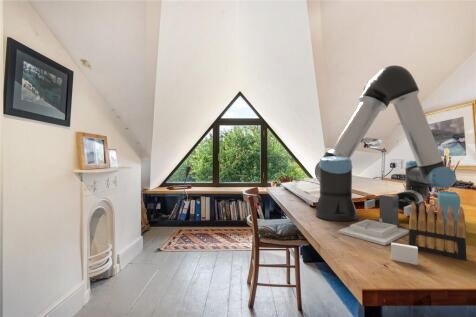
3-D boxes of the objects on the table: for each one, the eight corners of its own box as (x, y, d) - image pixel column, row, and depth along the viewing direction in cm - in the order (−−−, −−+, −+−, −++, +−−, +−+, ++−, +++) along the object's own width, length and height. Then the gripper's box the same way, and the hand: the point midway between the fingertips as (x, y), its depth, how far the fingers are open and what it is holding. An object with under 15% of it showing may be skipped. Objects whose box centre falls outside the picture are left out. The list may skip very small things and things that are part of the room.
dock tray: (338, 232, 72) (338, 221, 72) (365, 223, 82) (365, 213, 82) (384, 245, 62) (384, 232, 62) (408, 232, 72) (408, 221, 72)
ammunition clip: (408, 248, 60) (408, 201, 59) (409, 246, 61) (409, 200, 61) (466, 261, 52) (467, 207, 52) (466, 258, 54) (466, 206, 54)
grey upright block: (379, 224, 81) (379, 195, 81) (385, 221, 84) (385, 193, 84) (392, 226, 78) (392, 196, 78) (398, 224, 81) (398, 195, 81)
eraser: (417, 265, 51) (417, 248, 51) (391, 260, 53) (391, 244, 53) (417, 263, 52) (417, 246, 52) (391, 258, 54) (391, 242, 54)
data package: (460, 238, 66) (460, 196, 66) (439, 235, 69) (439, 195, 69) (455, 228, 76) (455, 191, 76) (437, 226, 79) (437, 190, 78)
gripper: (447, 216, 82) (428, 227, 69) (375, 205, 101) (349, 212, 88) (447, 195, 82) (428, 202, 69) (375, 188, 101) (349, 192, 88)
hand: (384, 208), depth 79 cm, fingers open, 11 cm apart
